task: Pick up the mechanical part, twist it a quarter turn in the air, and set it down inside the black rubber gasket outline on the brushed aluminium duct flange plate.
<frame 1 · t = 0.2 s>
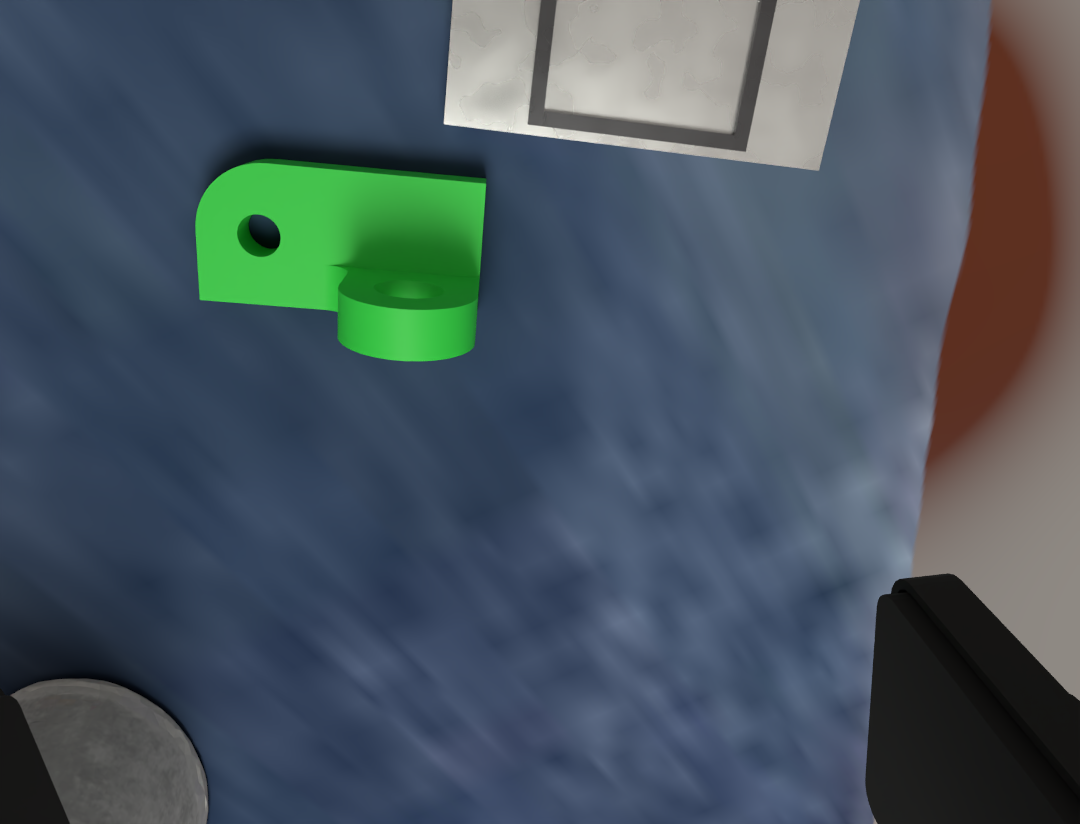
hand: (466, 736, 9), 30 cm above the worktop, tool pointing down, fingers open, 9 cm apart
mechanical part: (348, 233, 37), on the worktop
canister: (105, 782, 48), on the worktop
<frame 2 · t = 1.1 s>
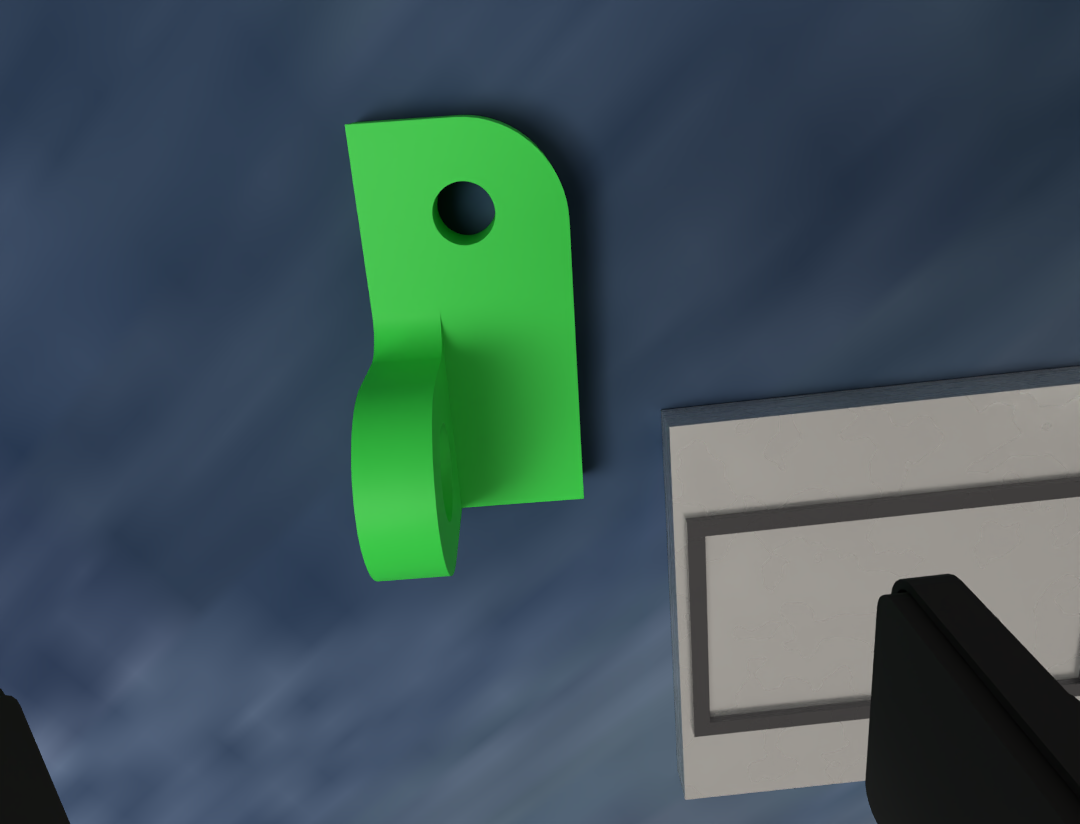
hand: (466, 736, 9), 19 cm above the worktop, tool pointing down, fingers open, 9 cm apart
mechanical part: (477, 310, 27), on the worktop
duct flange: (882, 584, 31), on the worktop
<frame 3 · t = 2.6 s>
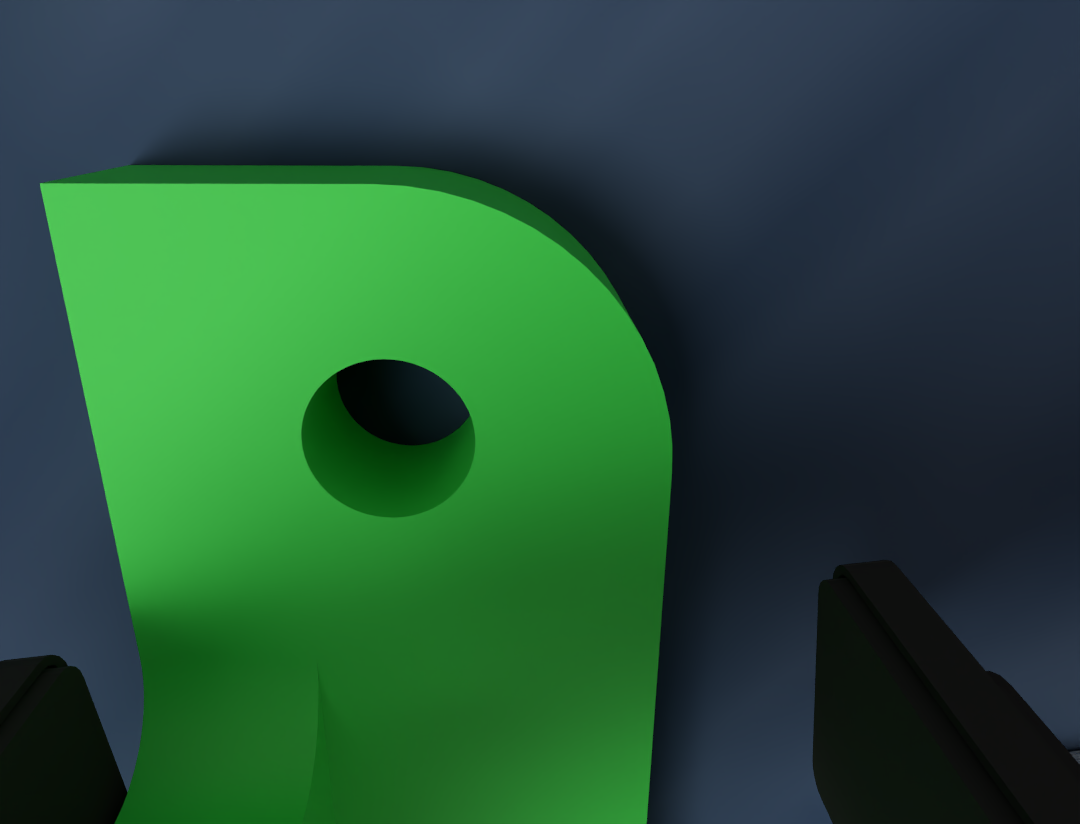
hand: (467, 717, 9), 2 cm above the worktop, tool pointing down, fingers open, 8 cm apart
mechanical part: (423, 596, 12), on the worktop, touching gripper
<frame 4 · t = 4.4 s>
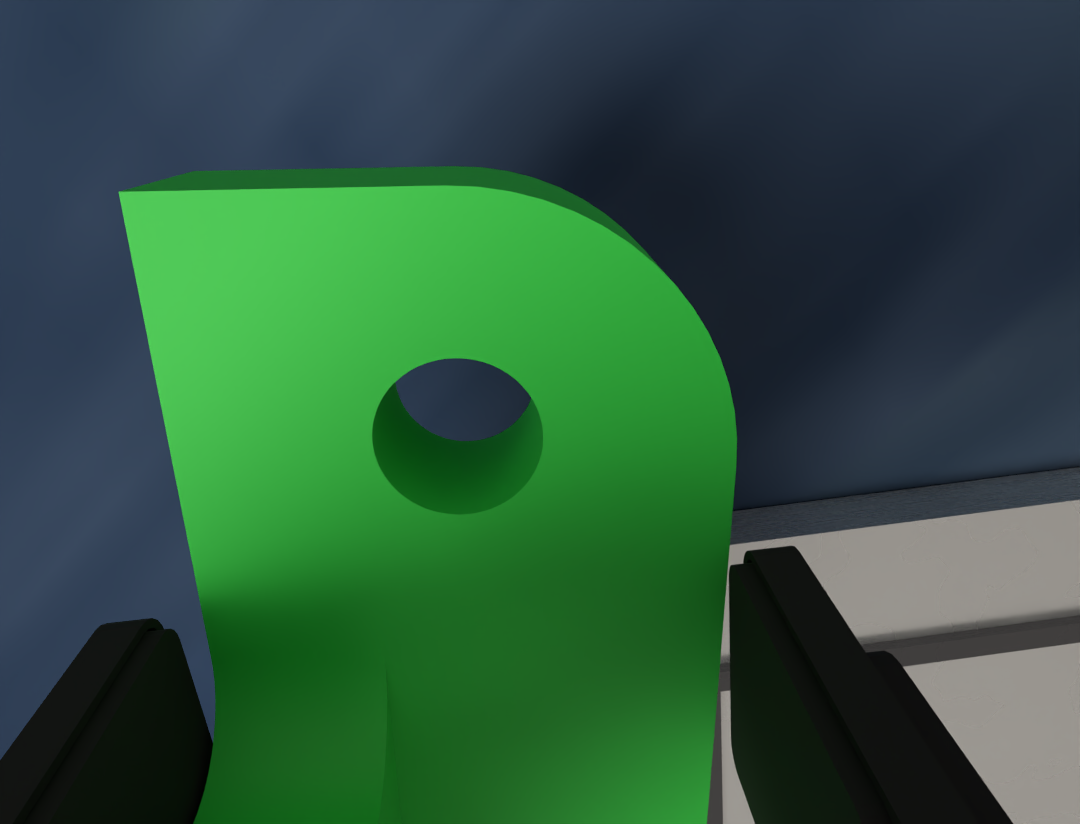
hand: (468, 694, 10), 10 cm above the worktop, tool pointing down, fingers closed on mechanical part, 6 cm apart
mechanical part: (477, 592, 12), point 8 cm above the worktop, touching gripper
duct flange: (941, 726, 24), on the worktop
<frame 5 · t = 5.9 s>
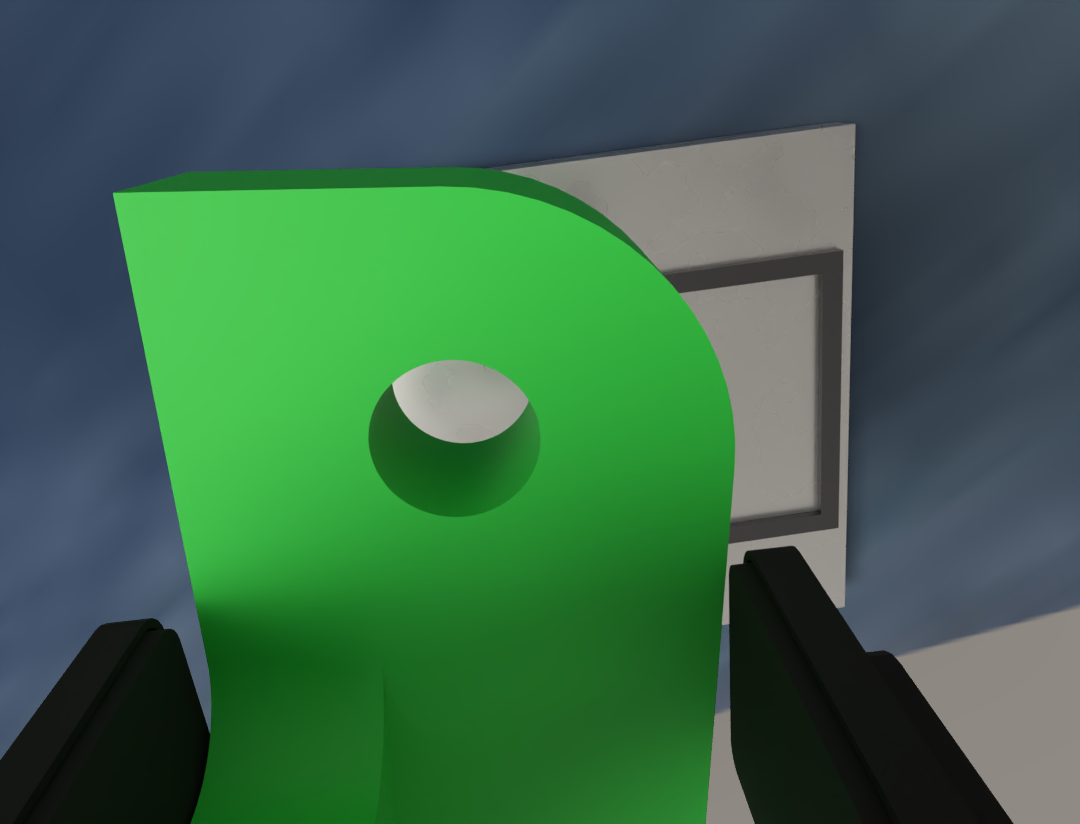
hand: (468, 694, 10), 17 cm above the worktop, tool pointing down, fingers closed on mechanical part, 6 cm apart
mechanical part: (474, 594, 12), point 15 cm above the worktop, touching gripper
duct flange: (589, 411, 27), on the worktop
when the fingers open (4 cm above the worktop, at t = 9.0 s): mechanical part stays where it is, resting on duct flange.
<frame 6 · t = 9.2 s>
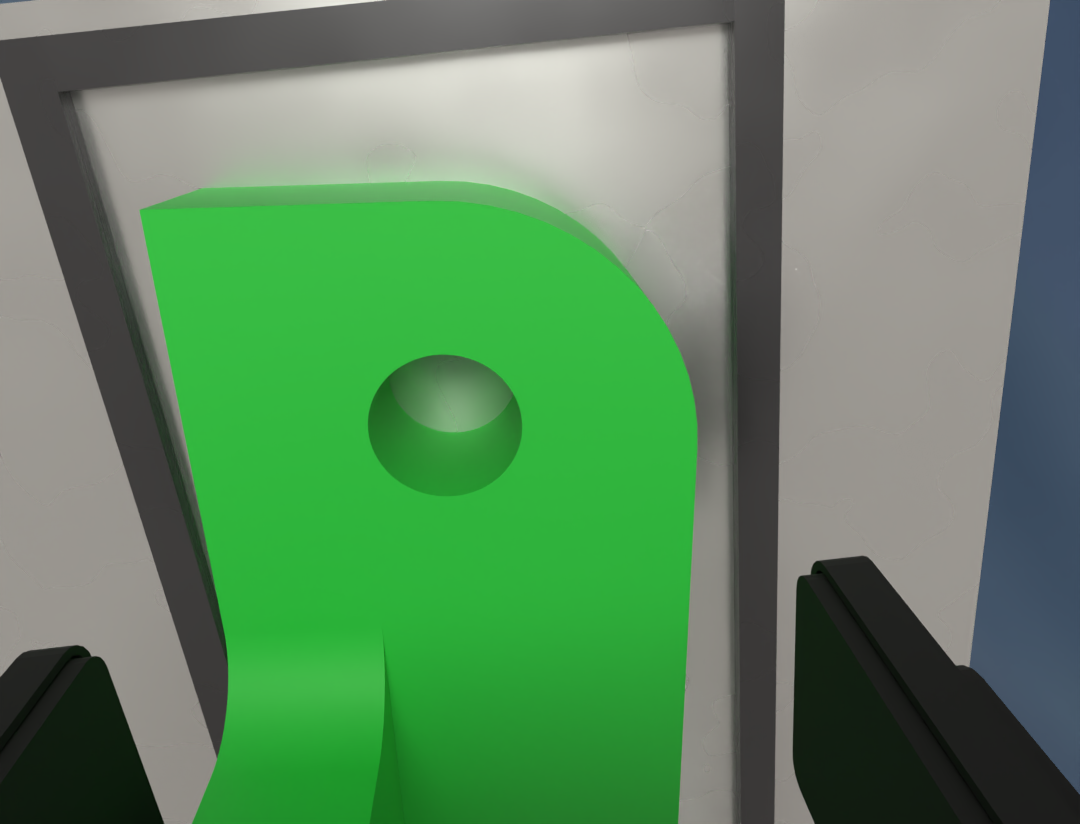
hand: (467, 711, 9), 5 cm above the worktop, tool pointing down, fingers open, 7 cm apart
mechanical part: (467, 572, 13), point 1 cm above the worktop, touching duct flange
duct flange: (476, 506, 14), on the worktop
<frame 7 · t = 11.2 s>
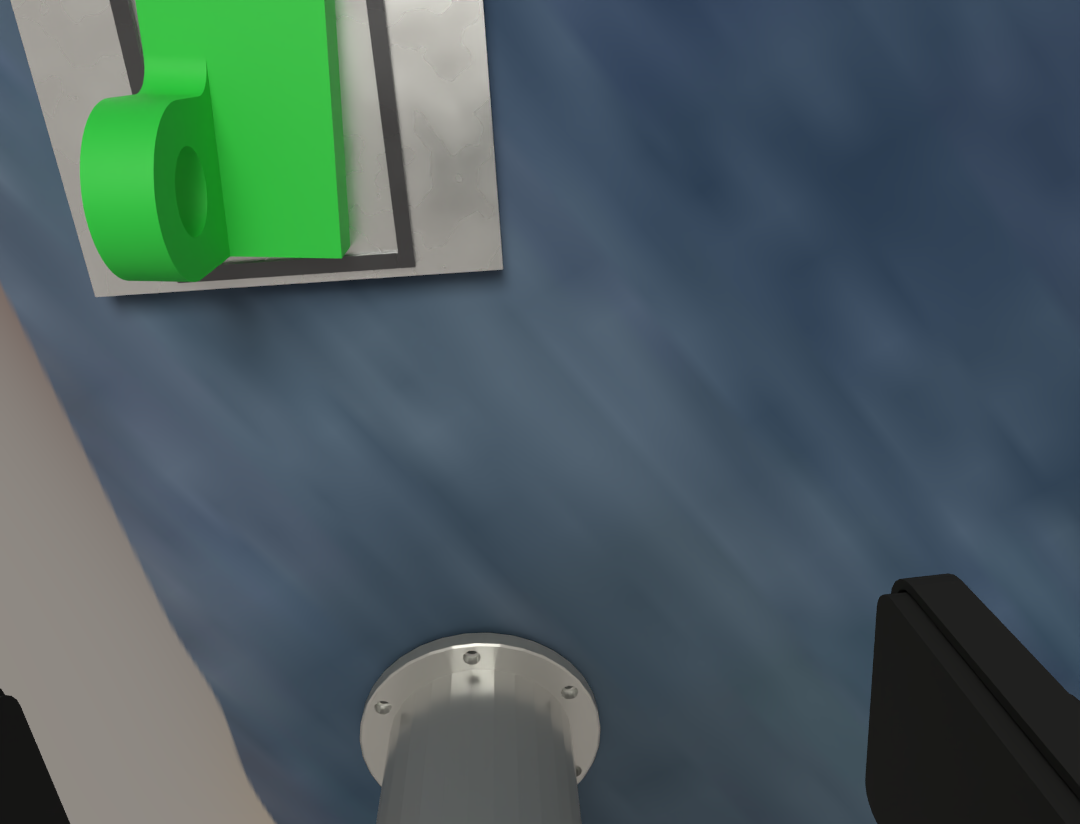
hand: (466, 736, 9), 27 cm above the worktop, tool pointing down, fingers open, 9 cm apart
mechanical part: (256, 77, 29), point 1 cm above the worktop, touching duct flange
duct flange: (271, 62, 30), on the worktop
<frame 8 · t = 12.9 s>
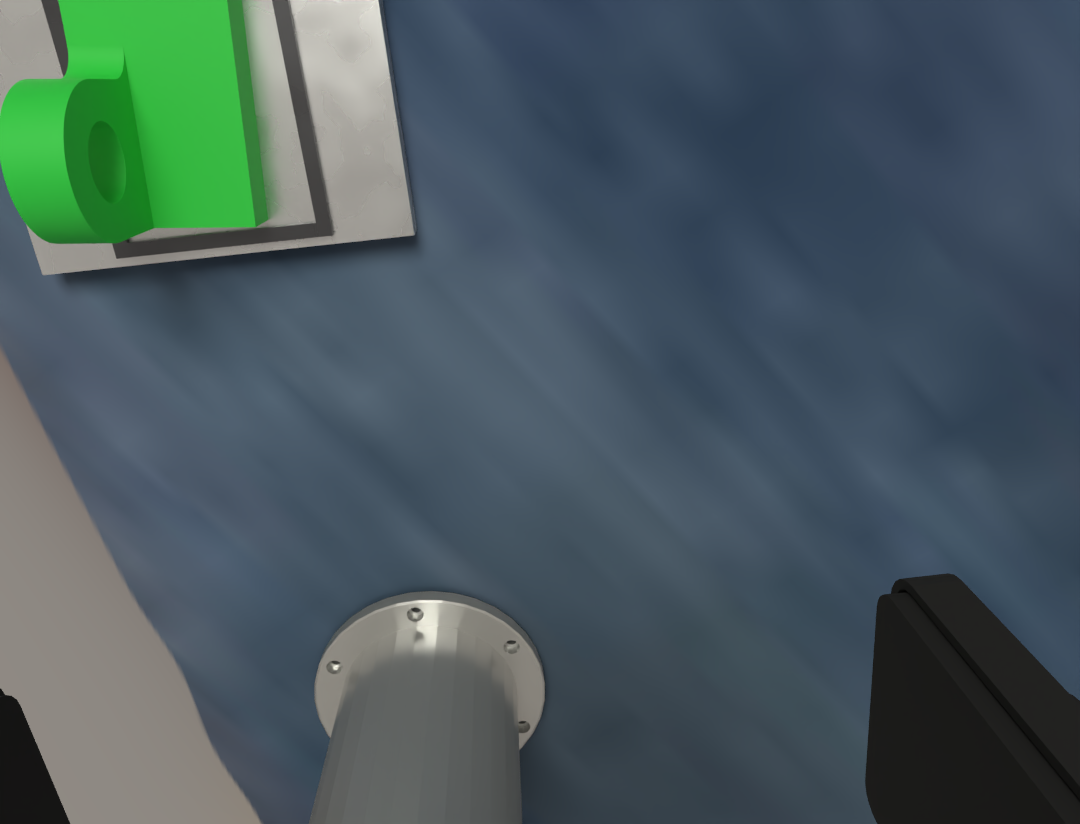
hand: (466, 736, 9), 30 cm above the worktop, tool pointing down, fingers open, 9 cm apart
mechanical part: (174, 66, 33), point 1 cm above the worktop, touching duct flange
duct flange: (193, 54, 34), on the worktop
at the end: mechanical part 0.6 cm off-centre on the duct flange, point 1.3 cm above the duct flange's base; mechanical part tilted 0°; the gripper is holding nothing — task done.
